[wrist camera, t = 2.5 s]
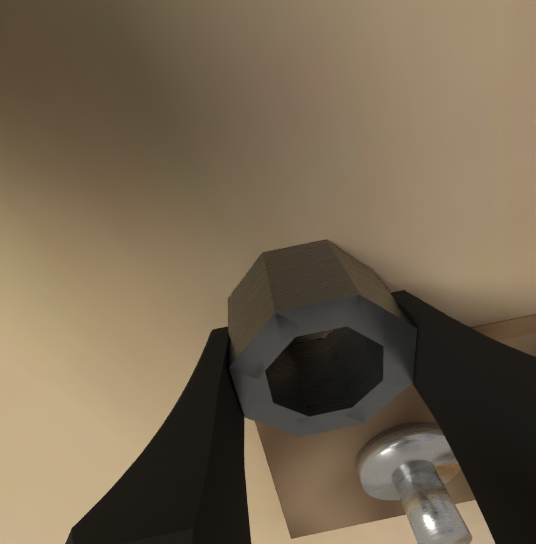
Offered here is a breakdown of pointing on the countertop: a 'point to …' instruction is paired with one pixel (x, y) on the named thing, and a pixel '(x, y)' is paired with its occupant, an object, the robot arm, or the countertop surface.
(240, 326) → the ring
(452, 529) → the piston post
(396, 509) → the board
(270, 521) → the countertop surface
